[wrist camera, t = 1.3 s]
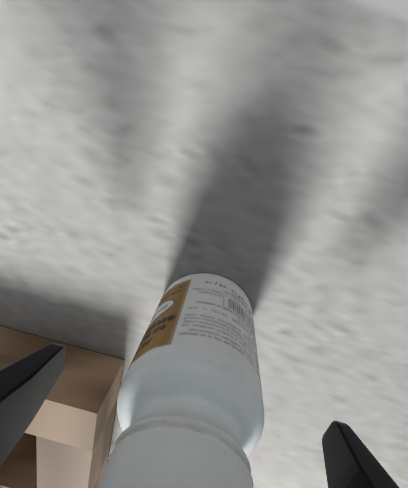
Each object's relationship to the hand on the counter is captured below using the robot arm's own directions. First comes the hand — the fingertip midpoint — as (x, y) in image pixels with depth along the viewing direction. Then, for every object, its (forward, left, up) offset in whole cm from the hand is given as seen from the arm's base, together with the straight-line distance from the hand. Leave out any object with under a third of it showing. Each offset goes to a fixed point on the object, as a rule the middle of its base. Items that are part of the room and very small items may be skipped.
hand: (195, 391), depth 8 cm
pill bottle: (0, 0, -4) cm, 5 cm away
